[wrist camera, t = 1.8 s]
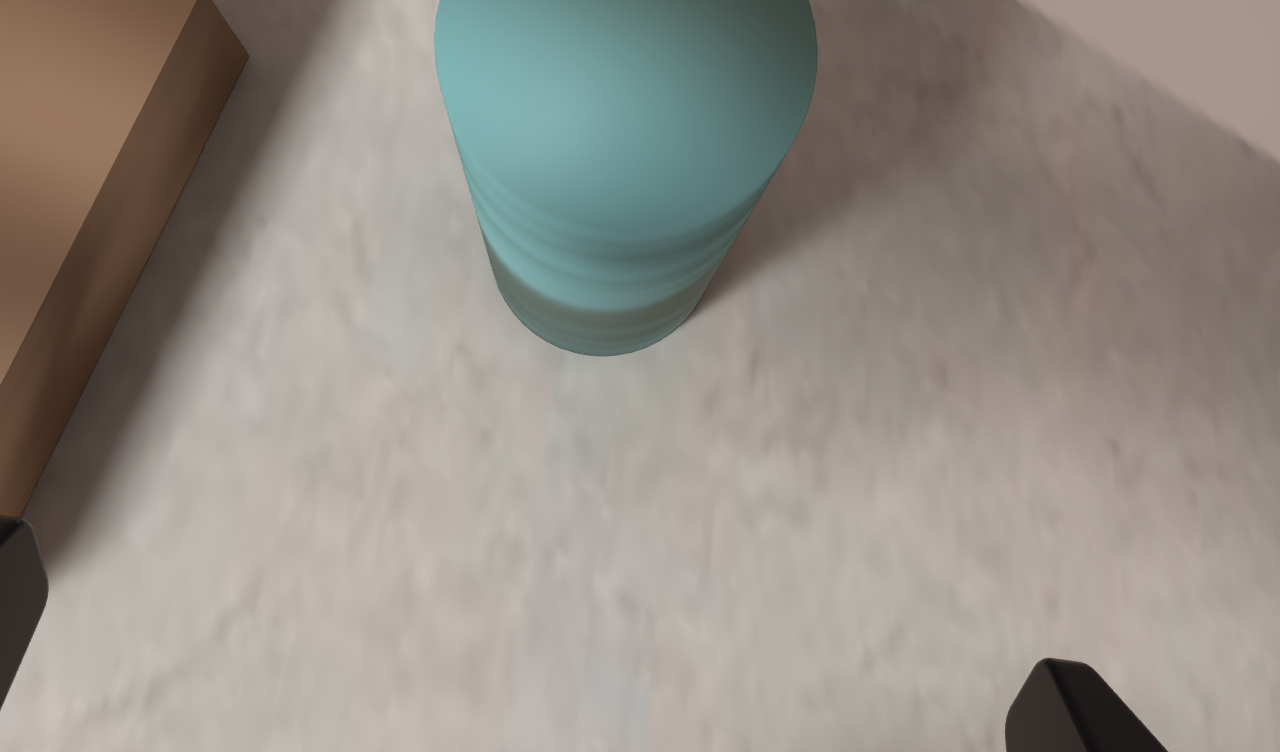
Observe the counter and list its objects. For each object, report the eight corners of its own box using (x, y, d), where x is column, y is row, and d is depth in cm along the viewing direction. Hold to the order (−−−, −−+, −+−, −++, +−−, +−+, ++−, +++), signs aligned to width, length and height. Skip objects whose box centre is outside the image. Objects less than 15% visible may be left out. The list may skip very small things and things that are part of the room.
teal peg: (663, 390, 23) (737, 289, 13) (454, 305, 23) (371, 140, 13) (744, 190, 24) (870, -46, 14) (541, 107, 24) (524, -189, 14)
